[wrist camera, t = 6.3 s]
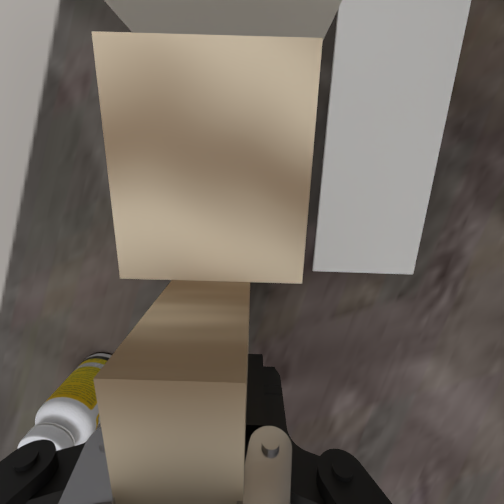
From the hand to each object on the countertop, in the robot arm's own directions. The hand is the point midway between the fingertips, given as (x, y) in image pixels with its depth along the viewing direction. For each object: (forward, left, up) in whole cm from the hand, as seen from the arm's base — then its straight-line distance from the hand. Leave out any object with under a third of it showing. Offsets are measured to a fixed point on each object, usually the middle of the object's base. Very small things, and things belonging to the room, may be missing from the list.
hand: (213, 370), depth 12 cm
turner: (0, -2, 0) cm, 3 cm away
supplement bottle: (+15, +14, -16) cm, 26 cm away
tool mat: (-13, -11, -16) cm, 23 cm away
